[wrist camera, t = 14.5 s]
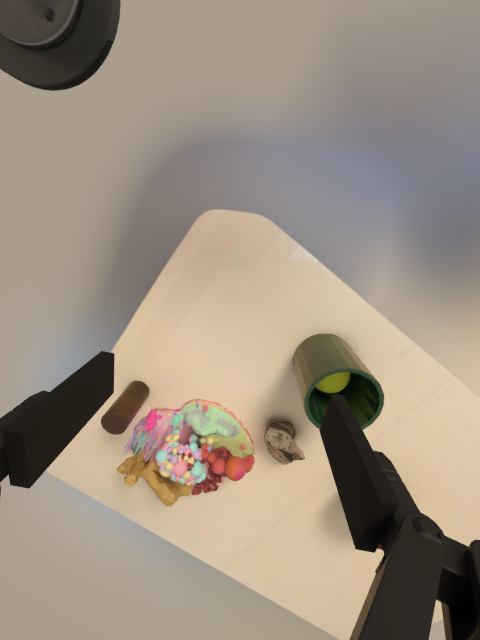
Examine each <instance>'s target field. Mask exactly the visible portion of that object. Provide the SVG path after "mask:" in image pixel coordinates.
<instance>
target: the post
mask: <svg viewBox="0 0 480 640" xmlns="http://www.w3.org/2000/svg"><path fill="white" fill-rule="evenodd" d="M148 396H149V388H148V387H147V385H146V384H144V383H143V382H140V381H134V382H132V383H130V384H129V386H128V387H127V388H126V389H125V390H124V392H123V393H122V394H121V395H120V396H119V398H118V399H117V400H116V401H115V402H114V404H113V405H112V406H111V407H110V408H109V409H108V411H107V412H106V413H105V414H104V415H103V417H102V419H101V424H102V427H103V428H104V429H105V430H106V431H107V432H109V433H111V434H121V433H123V432H124V431H125V430H126V429H127V427H128V426H129V424H130V423H131V421H132V420H133V418H134V417H135V415H136V414H137V412H138V411H139V409H140V408H141V406H142V405H143V403H144V402H145V400H146V399H147V397H148Z"/></svg>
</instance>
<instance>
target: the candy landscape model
mask: <svg viewBox="0 0 480 640" xmlns="http://www.w3.org/2000/svg"><path fill="white" fill-rule="evenodd" d="M146 416H147V415H146ZM146 416H145V418H146V419H145V418H142V419H143V420H142V419H141V420H142V422H141V420H140V422H141V423H140V422H139V423H137V424H138V425H139V426H138V425H136V426H135V428H134V431H133V432H134V433H133V435H132V436H131V438H130V440H129V441H128V443H127V444H126V448H127V447H128V445H129V444H130V445H129V447H128V448H127V450H126V453H127V452H128V451H129V449H130V448H131V445H132V450H133V452H134V456H133V457H130V458H127V459H126V460H125V462H124V463H123V464H121V465H120V466H119V467H118V469H117V471H118V472H119V473H123V474H127V473H128V472H129V473H128V474H127V476H126V477H125V479H124V481H125V484H126V485H129V486H133V485H134V484H135V483H136V482H137V480H138V478H139V477H140V476H141V477H144V478H145V480H146V481H147V483H148V485H149V487H150V488H151V489H152V490H153V491H154V492H155V493H156V495H157V497H158V498H159V499H160V500H161V501H162V502H163V503H164V504H165V505H166V506H171V505H172V504H174V503H175V502H176V501H177V499H178V497H179V496H189V494H190V493H191V492H192V494H193V495H199V494H200V493H201V492H202V491H201V489H203V492H205V493H207V492H212V491H216V490H217V489H218V486H219V485H220V484H222V483H223V482H224V479H225V477H228V478H229V479H230V480H232V481H238V480H240V479H241V478H243V477H244V475H245V473H247V472H249V471H250V470H251V469H252V465H253V464H254V457H253V456H252V455H253V447H252V446H253V441H252V440H251V439H250V434H249V433H248V431H247V430H246V429H245V428H244V427H243V424H242V423H241V421H239V420H238V419H237V418H236V417H235V415H234V414H233V412H230V411H227V410H226V408H223V407H222V405H220V404H216V403H212V402H208V401H204V400H200V399H197V400H191V401H190V402H188V403H186V404H185V406H184V407H182V408H181V409H180V410H178V411H177V410H176V411H172V410H168V409H166V410H157V411H155V410H151V411H150V414H149V415H148V416H147V417H146ZM144 420H145V421H144ZM137 426H138V428H139V429H138V430H137V429H136V427H137ZM135 429H136V430H137V431H136V430H135ZM126 453H125V454H126Z"/></svg>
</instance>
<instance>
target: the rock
mask: <svg viewBox="0 0 480 640" xmlns="http://www.w3.org/2000/svg"><path fill="white" fill-rule="evenodd" d="M264 437H265V443H266V445H267V447H268V449H269V453H270V454H272V456H273V457H274V458H275V459H276V460H277V461H278V462H279V463H281V464H288V463H291V462H293V460H304V459H305V457H304V455H303V452H302V450H301V449H299V448H298V447H297V446H296V444H295V442H294V441H293V438H294V437H295V431H294V428H293V426H292V424H291V423H288V422H281V423H275V424H274V423H273V424H272V426H271V427H270V428H269V429H268V431H267V432H266V434H265V436H264Z"/></svg>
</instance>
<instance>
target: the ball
mask: <svg viewBox="0 0 480 640" xmlns="http://www.w3.org/2000/svg"><path fill="white" fill-rule="evenodd" d="M349 380H350V372H342V373H336V374H333V375H330V376H327V377H325V378H324V379H323V380H321V381H320V382H319V383H317V385H316V386H315V387H316V388H317V389H319V390H320V391H323V392H326V393H336V392H339V391H341V390H342V389H344V388H345V387H346V386H347V384H348V383H349Z"/></svg>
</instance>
